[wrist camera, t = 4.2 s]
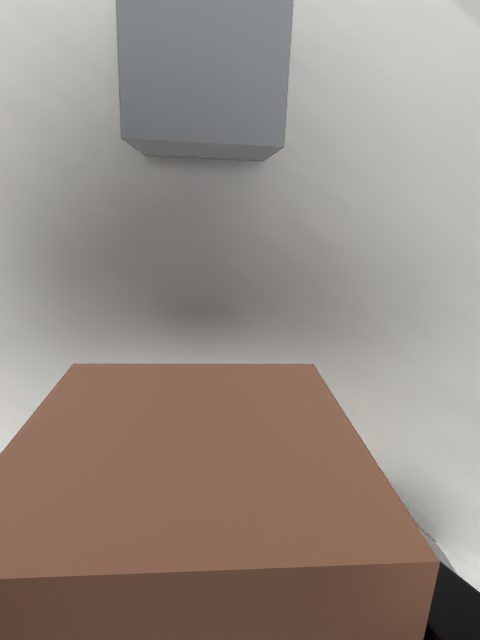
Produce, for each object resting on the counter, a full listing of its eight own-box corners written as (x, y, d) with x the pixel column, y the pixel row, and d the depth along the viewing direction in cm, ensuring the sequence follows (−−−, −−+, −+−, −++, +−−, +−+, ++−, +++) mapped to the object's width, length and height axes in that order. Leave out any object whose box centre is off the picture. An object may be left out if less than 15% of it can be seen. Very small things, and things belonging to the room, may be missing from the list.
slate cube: (270, 26, 16) (296, -46, 11) (263, 161, 18) (283, 147, 13) (142, 16, 16) (113, -63, 11) (145, 155, 17) (121, 138, 12)
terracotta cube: (313, 364, 9) (439, 561, 4) (295, 550, 10) (374, 862, 5) (73, 363, 8) (-105, 583, 4) (89, 558, 10) (-23, 902, 5)
